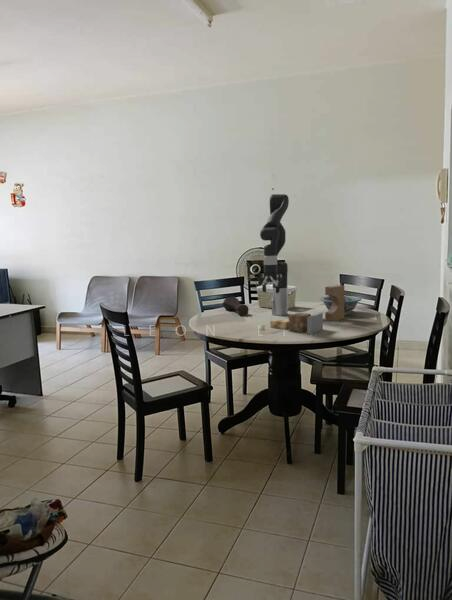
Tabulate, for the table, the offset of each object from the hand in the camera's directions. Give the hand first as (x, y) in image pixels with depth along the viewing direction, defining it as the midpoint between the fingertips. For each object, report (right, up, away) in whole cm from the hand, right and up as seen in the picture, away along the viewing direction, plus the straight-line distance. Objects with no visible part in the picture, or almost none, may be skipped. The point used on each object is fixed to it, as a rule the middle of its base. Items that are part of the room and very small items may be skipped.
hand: (270, 292), depth 270 cm
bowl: (+47, -13, +33) cm, 59 cm away
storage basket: (+10, -10, +63) cm, 65 cm away
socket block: (+15, -20, -10) cm, 27 cm away
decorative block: (+39, -16, +14) cm, 45 cm away
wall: (+22, -21, -15) cm, 34 cm away
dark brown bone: (-18, -13, +49) cm, 54 cm away
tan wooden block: (+5, -20, -3) cm, 21 cm away
